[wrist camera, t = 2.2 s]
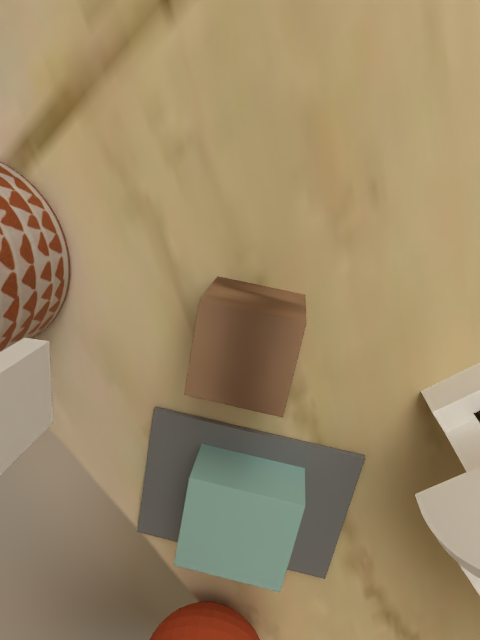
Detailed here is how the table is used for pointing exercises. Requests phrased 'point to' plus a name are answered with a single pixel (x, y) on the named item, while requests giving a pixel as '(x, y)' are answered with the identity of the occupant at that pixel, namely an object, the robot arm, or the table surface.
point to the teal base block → (241, 517)
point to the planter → (29, 260)
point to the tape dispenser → (466, 489)
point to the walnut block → (246, 345)
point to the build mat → (319, 461)
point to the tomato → (205, 624)
